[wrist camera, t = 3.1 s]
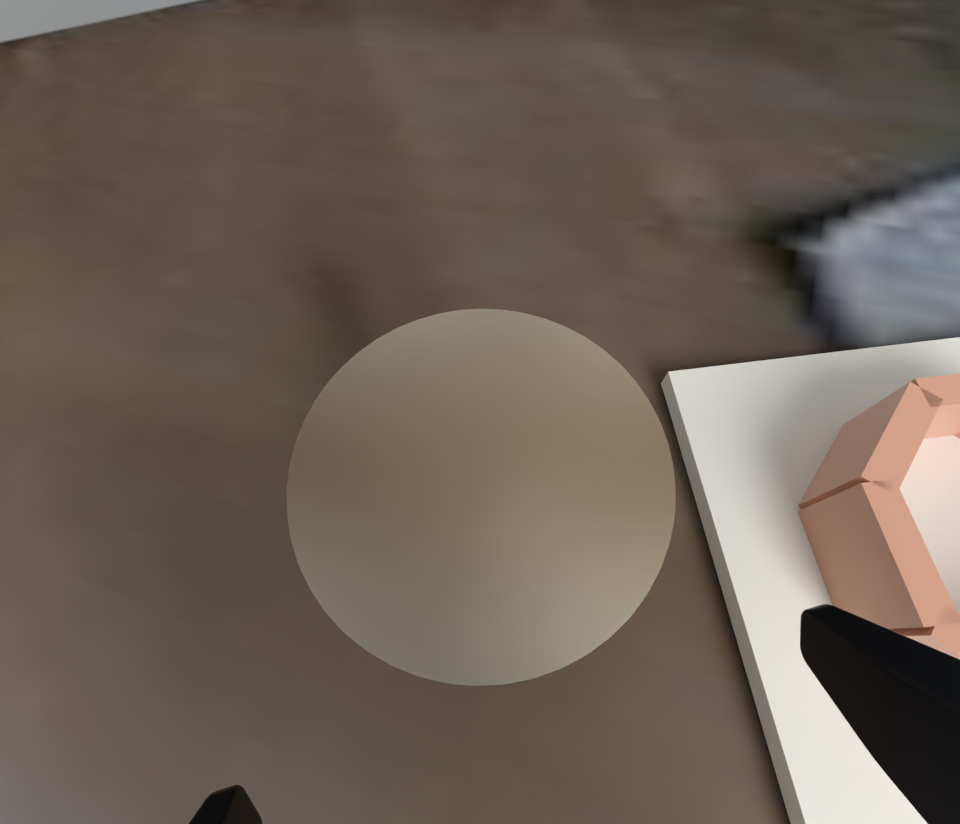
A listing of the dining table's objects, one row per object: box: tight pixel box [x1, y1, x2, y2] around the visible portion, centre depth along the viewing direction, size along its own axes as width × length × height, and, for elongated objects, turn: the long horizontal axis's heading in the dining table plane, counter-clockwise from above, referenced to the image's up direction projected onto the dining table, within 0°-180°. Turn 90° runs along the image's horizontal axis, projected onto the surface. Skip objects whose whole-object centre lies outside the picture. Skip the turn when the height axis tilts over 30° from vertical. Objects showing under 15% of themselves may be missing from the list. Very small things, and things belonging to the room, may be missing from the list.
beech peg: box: [286, 309, 676, 686], centre depth 13 cm, size 5×5×13 cm
